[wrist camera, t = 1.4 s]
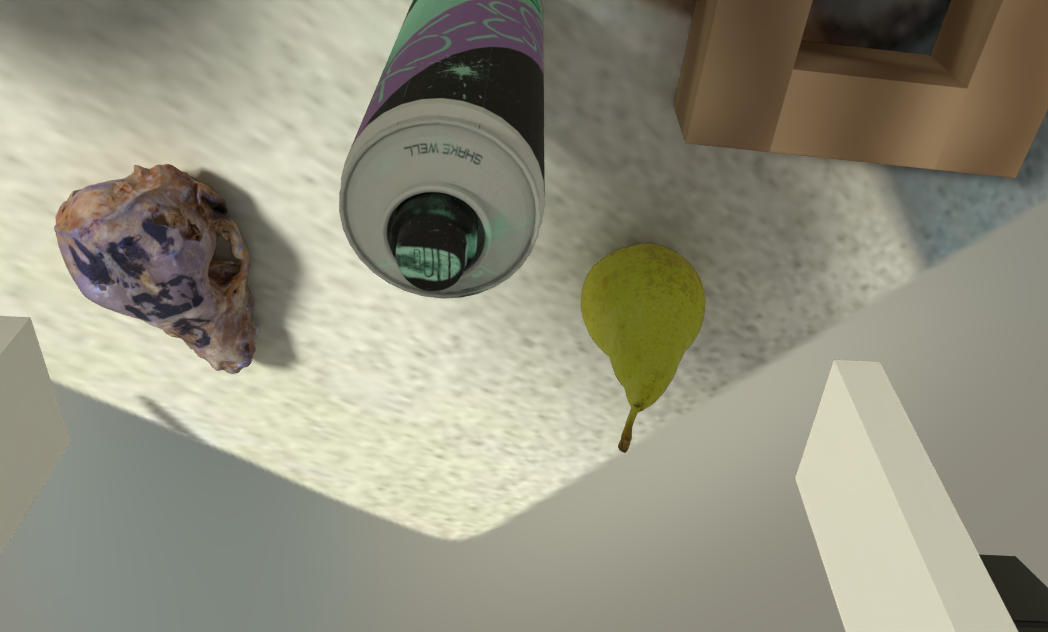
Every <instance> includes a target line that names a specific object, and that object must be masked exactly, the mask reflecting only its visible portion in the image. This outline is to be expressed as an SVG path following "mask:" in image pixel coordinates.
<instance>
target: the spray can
mask: <svg viewBox="0 0 1048 632" xmlns="http://www.w3.org/2000/svg"><path fill="white" fill-rule="evenodd" d="M544 205H545V189H544V73H543V11H542V5H541V1H540V0H413V1H412V4H411V6H410V8H409V11H408V13H407V16H406V18H405V20H404V23H403V25H402V28H401V30H400V32H399V35H398V37H397V39H396V42H395V44H394V47H393V49H392V51H391V54H390V56H389V59H388V61H387V63H386V66H385V68H384V70H383V73H382V75H381V78H380V80H379V82H378V85H377V87H376V90H375V92H374V94H373V97H372V99H371V101H370V104H369V106H368V109H367V111H366V113H365V116H364V118H363V121H362V123H361V125H360V128H359V130H358V132H357V135H356V137H355V140H354V142H353V144H352V147H351V149H350V152H349V154H348V156H347V159H346V161H345V165H344V169H343V173H342V177H341V190H340V201H339V212H340V217H341V221H342V226H343V230H344V232H345V234H346V237H347V239H348V241H349V243H350V245H351V247H352V248H353V250H354V251H355V253H356V254H357V255H358V257H359V258H360V260H361V261H362V262H363V263H364V264H365V265H366V266H367V267H368V268H369V269H370V270H371V271H372V272H373V273H375V274H376V275H378V276H379V277H381V278H382V279H384V280H385V281H386V282H388V283H390V284H392V285H394V286H396V287H398V288H400V289H402V290H404V291H407V292H411V293H414V294H418V295H421V296H426V297H435V298H460V297H465V296H470V295H475V294H479V293H481V292H484V291H486V290H488V289H491V288H493V287H495V286H497V285H499V284H500V283H502V282H503V281H505V280H506V279H508V278H509V277H510V276H511V275H513V274H514V273H515V272H516V271H517V270H518V269H519V268H520V267H521V266H522V265H523V263H524V262H525V260H526V259H527V257H528V256H529V254H530V253H531V251H532V249H533V246H534V244H535V242H536V239H537V237H538V232H539V228H540V225H541V223H542V217H543V211H544Z"/></svg>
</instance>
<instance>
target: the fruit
mask: <svg viewBox="0 0 1048 632" xmlns="http://www.w3.org/2000/svg"><path fill="white" fill-rule="evenodd" d="M581 310H582V316H583V319H584V322H585V325H586V327H587V330H588V332H589V334H590V336H591V337H592V339H593V340H594V342H595V343H596V344H597V345H598V347H599V348H600V349H601V350H602V351H603V352H604V353H605V354H606V355H608V356H609V357H610V360H611V363H612V366H613V370H614V373H615V375H616V377H617V379H618V380H619V382H620V383H621V385H622V386H623V387H624V389H625V391H626V396H627V399H628V402H629V404H630V406H631V410H630V413H629V416H628V418H627V421H626V424H625V427H624V430H623V433H622V435H621V440H620V442H619V445H618V448H619V450H620V451H622V452H624V453H626V452H627V450H628V448H629V445H630V441H631V439H632V426H633V423H634V420H635V417H636V415H637V413H638V412H640V411H643V410H644V409H646V408H648V407H649V406H651V405H652V404H653V403H654V402H656V400H657V399H658V398H659V397H660V396H661V395H662V394H663V392H664V391H665V390H666V388H667V387H668V385H669V384H670V382H671V381H672V379H673V377H674V375H675V373H676V370H677V367H678V365H679V363H680V361H681V358H682V356H683V354H684V352H685V351H686V350H687V349H688V348H689V346H690V345H691V344H692V343H693V341H694V340H695V338H696V337H697V335H698V333H699V331H700V328H701V325H702V322H703V318H704V312H705V293H704V289H703V286H702V282H701V280H700V277H699V276H698V274H697V272H696V271H695V269H694V268H693V267H692V266H691V265H690V264H689V263H688V262H687V261H686V260H685V259H684V258H683V257H682V256H680V255H679V254H677V253H676V252H674V251H672V250H670V249H668V248H666V247H664V246H661V245H657V244H653V243H650V244H637V245H632V246H628V247H625V248H622V249H619V250H617V251H615V252H613V253H611V254H609V255H607V256H606V257H604V258H603V259H602V260H600V261H599V262H598V263H597V264H596V265H594V266H593V267H592V269H591V270H590V272H589V273H588V275H587V277H586V279H585V282H584V285H583V288H582V295H581Z"/></svg>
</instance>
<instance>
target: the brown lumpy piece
mask: <svg viewBox="0 0 1048 632" xmlns="http://www.w3.org/2000/svg"><path fill="white" fill-rule="evenodd" d="M227 211H228V210H227V207H226V203H225V200H224V199H223V198H222V197H221V196H220V195H218V194H217V193H215V192H214V191H213V190H212V189H211V188H210V187H209V186H207V185H205V184H203V183H200V182H197V181H195V180H193V179H192V178H191V177H190V176H189V175H188V174H187V173H186V172H182V171H180V170H179V169H177V168H176V167H174V166H172V165H170V164H166V165H156V166H155V167H153V168H151V169H147V168H143V167H141V166H138V165H134V172H133V173H132V174H131V175H130V176H128V177H126V178H124V179H119V180H111V181H107V182H103V183H98V184H94V185H89V186H86V187H85V188H83V189H80V190H75V191H73V192H72V193H71V195H70V196H69V198H68V200H67V201H65V202H64V203H63V204H62V205H61V206H60V208H59V210H58V212H57V215H56V225H55V227H54V230H55V232H56V236H57V240H58V244H59V248H60V251H61V254H62V257H63V259H64V262H65V264H66V267H67V269H68V271H69V273H70V274H71V276H72V278H73V280H74V281H75V283H76V284H77V286H78V287H79V289H80V291H81V292H82V294H83V295H84V296H85V297H86V298H88V299H89V300H91V301H92V302H94V303H96V304H98V305H100V306H102V307H104V308H107V309H110V310H112V311H115V312H118V313H121V314H123V315H127V316H131V317H134V318H138V319H141V320H143V321H145V322H147V323H148V324H150V325H152V326H155V327H158V328H160V329H163V330H164V332H165V333H166V334H168V335H170V336H172V337H177V338H181V339H183V340H184V342H185V343H186V344H187V345H188V346H189V347H190V349H193V350H194V351H195V353H196V354H197V355H198V356H199V357H200V358H203V359H205V360H206V361H208V362H209V363H210V365H211V366H212V367H213V368H214V369H215V370H217V371H219V370H225V371H226V372H228V373H231V374H234V373H238V372H240V370H241V369H242V368H243V367H247V366H249V365H250V364H251V361H252V358H253V354H254V353H255V345H254V338H255V337H256V336H257V335H258V333H259V329H260V327H259V325H257V327H256V328H254V327H253V326H252V324H251V320H252V314H253V304H254V300H253V297H252V296H251V295H250V292H249V288H248V284H247V283H248V282H247V280H246V278H247V274H248V271H249V268H250V256H249V253H248V251H247V249H246V247H245V244H244V241H243V239H242V238H241V235H240V231H239V228H238V226H237V225H236V223H235V222H234V221H233V220H232V219H231V218H230V216H229V215H227ZM219 235H222V237H223V238H224V239H225V240H226V241H228V242H230V250H231V253H232V254H233V255H234V256H235V257H236V258H238V259H239V263H234V262H231V261H211V259H212V257H213V254H214V251H215V248H216V242H217V238H218V236H219Z"/></svg>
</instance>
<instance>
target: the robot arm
mask: <svg viewBox="0 0 1048 632" xmlns="http://www.w3.org/2000/svg"><path fill="white" fill-rule="evenodd" d="M70 443H71V442H70V439H69V436H68V433H67V430H66V427H65V424H64V421H63V417H62V414H61V411H60V408H59V405H58V402H57V399H56V396H55V393H54V389H53V386H52V383H51V380H50V377H49V374H48V371H47V368H46V365H45V361H44V358H43V355H42V352H41V349H40V346H39V343H38V340H37V337H36V334H35V330H34V327H33V324H32V321H31V318H30V317H11V316H0V556H1V554H2V553H3V551H4V549H5V548H6V546H7V545H8V543H9V541H10V540H11V538H12V536H13V535H14V533H15V532H16V530H17V528H18V527H19V525H20V524H21V522H22V520H23V519H24V517H25V516H26V514H27V512H28V511H29V509H30V507H31V506H32V504H33V503H34V501H35V499H36V498H37V496H38V494H39V493H40V491H41V490H42V488H43V487H44V485H45V483H46V482H47V480H48V478H49V477H50V475H51V474H52V472H53V470H54V469H55V467H56V465H57V464H58V462H59V461H60V459H61V458H62V456H63V454H64V453H65V451H66V449H67V448H68V446H69V445H70ZM795 479H796V482H797V485H798V488H799V491H800V494H801V497H802V500H803V503H804V506H805V509H806V512H807V515H808V519H809V522H810V524H811V528H812V530H813V533H814V537H815V540H816V543H817V546H818V549H819V552H820V555H821V558H822V561H823V564H824V567H825V570H826V573H827V576H828V579H829V582H830V585H831V588H832V591H833V594H834V597H835V600H836V604H837V607H838V610H839V613H840V615H841V618H842V622H843V625H844V628H845V631H846V632H1048V588H1047V587H1046V586H1045V585H1044V584H1043V583H1042V582H1041V581H1040V580H1039V579H1038V578H1037V577H1036V576H1035V575H1034V574H1033V573H1032V572H1031V571H1030V570H1029V569H1028V568H1027V567H1026V566H1025V565H1024V564H1023V563H1022V562H1021V561H1020V560H1019V559H1018V558H1017V557H1015V556H997V555H979V554H978V553H977V550H976V549H975V547H974V544H973V543H972V541H971V539H970V537H969V535H968V533H967V531H966V529H965V527H964V525H963V523H962V521H961V519H960V517H959V516H958V513H957V511H956V510H955V507H954V505H953V504H952V502H951V500H950V498H949V496H948V494H947V492H946V490H945V488H944V486H943V484H942V482H941V480H940V478H939V476H938V474H937V472H936V470H935V468H934V467H933V465H932V463H931V461H930V459H929V457H928V455H927V453H926V451H925V449H924V447H923V445H922V443H921V441H920V439H919V437H918V435H917V434H916V431H915V429H914V427H913V426H912V424H911V422H910V420H909V418H908V416H907V414H906V412H905V410H904V408H903V406H902V404H901V402H900V400H899V398H898V396H897V394H896V392H895V391H894V389H893V387H892V385H891V383H890V381H889V379H888V377H887V375H886V373H885V371H884V369H883V367H882V365H881V363H880V362H871V361H852V360H834V361H833V364H832V367H831V370H830V374H829V377H828V380H827V383H826V386H825V389H824V392H823V395H822V398H821V401H820V405H819V407H818V411H817V414H816V416H815V419H814V423H813V426H812V429H811V432H810V435H809V438H808V441H807V444H806V447H805V451H804V453H803V456H802V459H801V463H800V465H799V468H798V471H797V475H796V478H795Z"/></svg>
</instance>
